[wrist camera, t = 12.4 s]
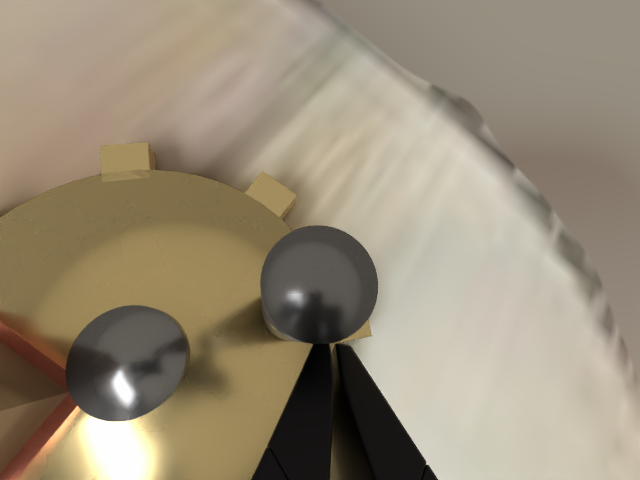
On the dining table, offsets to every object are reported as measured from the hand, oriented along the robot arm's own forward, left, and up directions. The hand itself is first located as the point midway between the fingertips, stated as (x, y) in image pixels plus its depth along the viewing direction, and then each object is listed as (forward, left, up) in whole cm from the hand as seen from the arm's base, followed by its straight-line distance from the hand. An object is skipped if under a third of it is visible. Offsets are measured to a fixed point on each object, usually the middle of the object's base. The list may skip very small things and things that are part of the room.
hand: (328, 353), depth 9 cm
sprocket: (+3, +6, -8) cm, 11 cm away
